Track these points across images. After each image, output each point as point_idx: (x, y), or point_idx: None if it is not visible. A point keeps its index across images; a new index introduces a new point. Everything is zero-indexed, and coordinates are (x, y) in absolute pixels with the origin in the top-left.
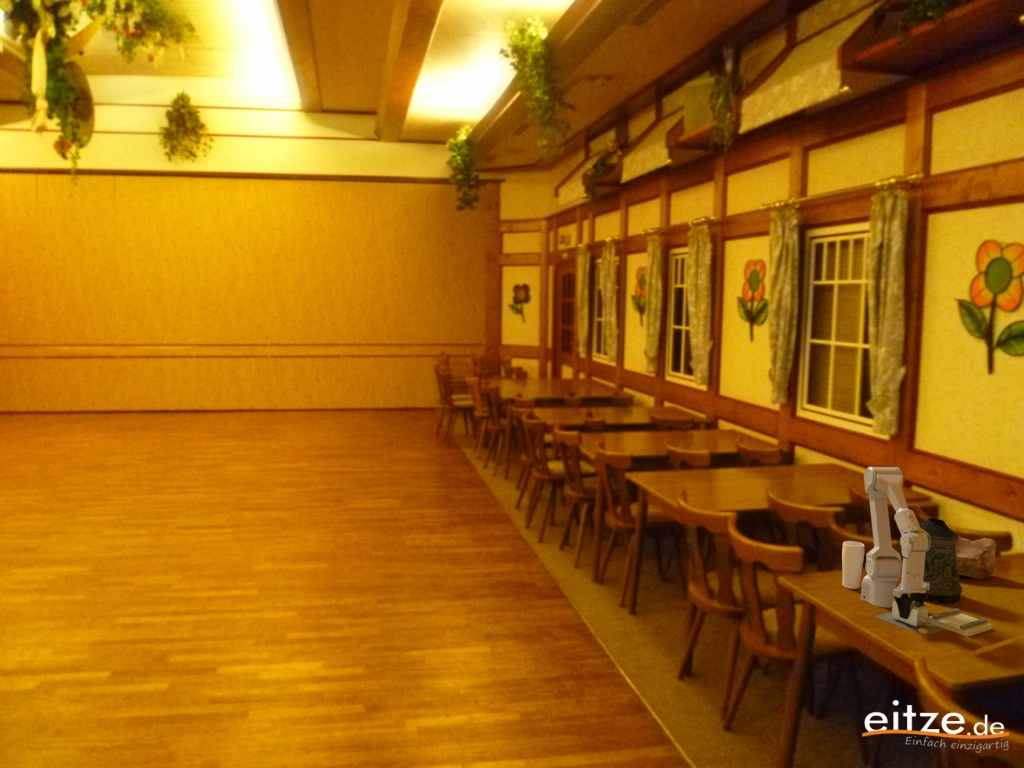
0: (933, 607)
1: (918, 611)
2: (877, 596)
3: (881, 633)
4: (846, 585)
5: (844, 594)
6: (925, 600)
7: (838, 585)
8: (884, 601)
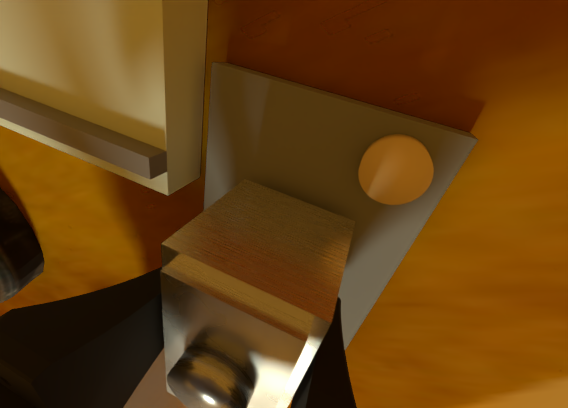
0: (39, 198)
1: (318, 302)
2: None
3: (525, 348)
4: None
5: None
6: (90, 295)
7: None
8: None
